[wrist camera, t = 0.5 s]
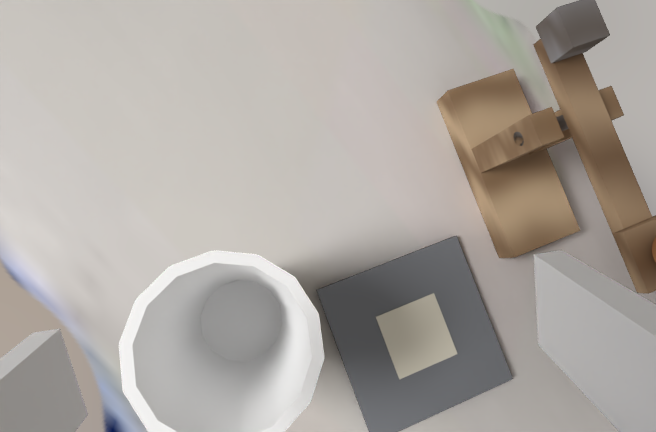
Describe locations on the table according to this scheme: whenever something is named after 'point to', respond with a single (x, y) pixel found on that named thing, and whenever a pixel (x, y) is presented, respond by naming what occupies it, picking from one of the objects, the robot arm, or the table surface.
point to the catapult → (543, 132)
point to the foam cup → (221, 347)
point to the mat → (414, 336)
